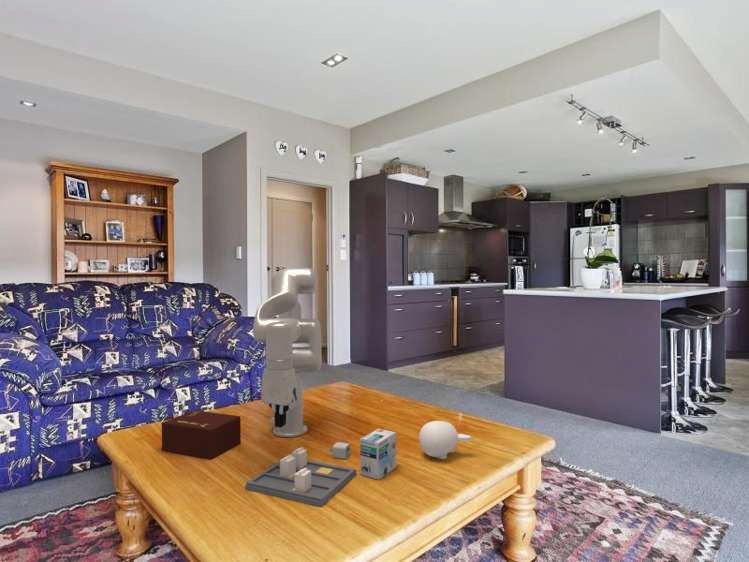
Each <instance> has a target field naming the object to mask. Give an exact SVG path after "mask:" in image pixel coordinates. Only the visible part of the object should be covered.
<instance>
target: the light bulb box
mask: <svg viewBox="0 0 749 562" xmlns="http://www.w3.org/2000/svg"><path fill="white" fill-rule="evenodd" d="M359 441H360V442H359V446H360V447H359V448H360V451H359V453H360V454H359V455H360V457H359V459H360V463H359V464H360V475H361V476H364V477H367V478H370V479H374V480H377V481H378V480H379V481H380V480H381V479H382V478H384V477H385V476H387V475H388V474H389V473H390V472H392V471H394V470H395V469H396V468H397V432H395V431H391V430H386V429H382V428H377V429H375V430H374V431H372V432H370V433H368V434H366V435H364V436H363V437H361V438H360V439H359Z"/></svg>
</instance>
